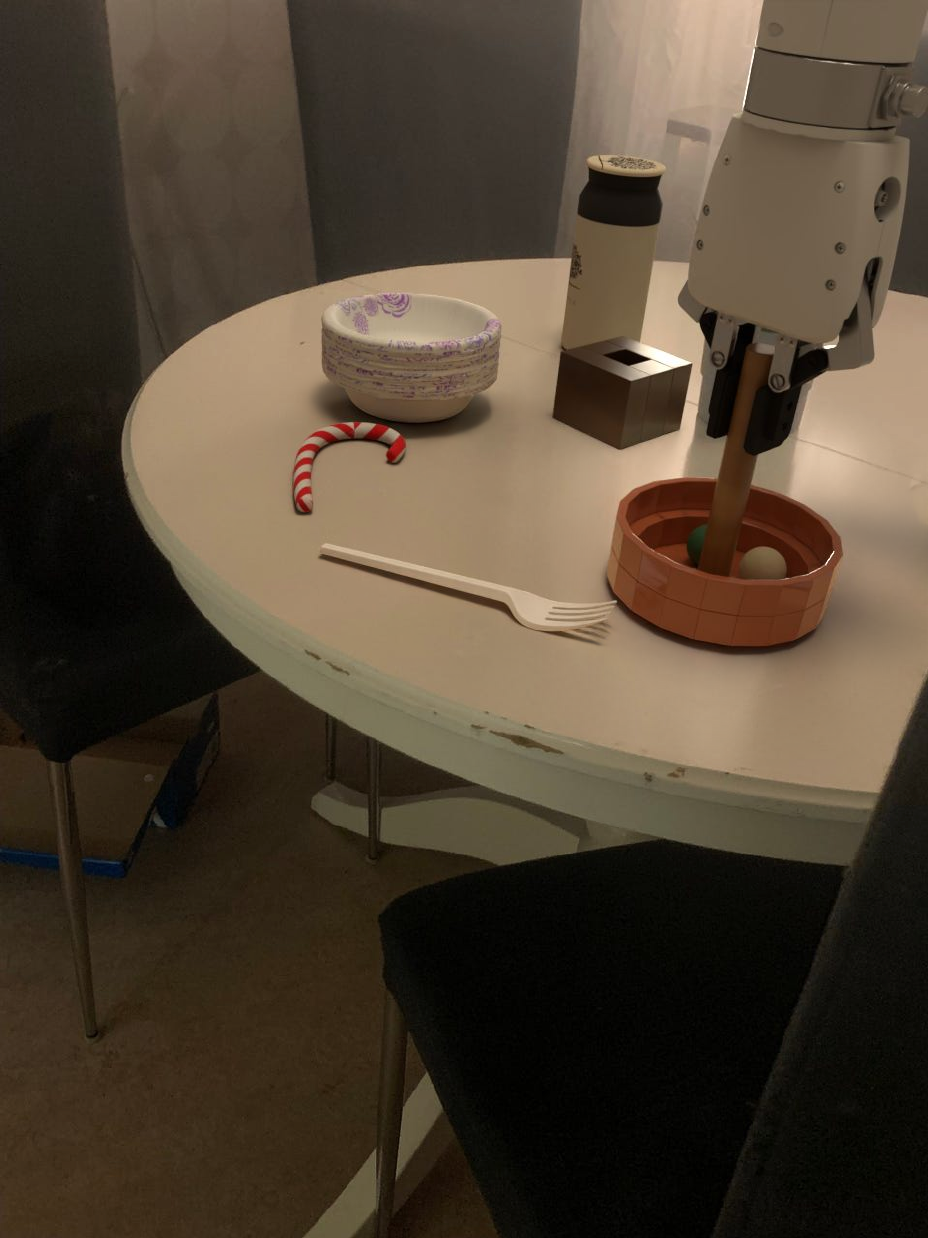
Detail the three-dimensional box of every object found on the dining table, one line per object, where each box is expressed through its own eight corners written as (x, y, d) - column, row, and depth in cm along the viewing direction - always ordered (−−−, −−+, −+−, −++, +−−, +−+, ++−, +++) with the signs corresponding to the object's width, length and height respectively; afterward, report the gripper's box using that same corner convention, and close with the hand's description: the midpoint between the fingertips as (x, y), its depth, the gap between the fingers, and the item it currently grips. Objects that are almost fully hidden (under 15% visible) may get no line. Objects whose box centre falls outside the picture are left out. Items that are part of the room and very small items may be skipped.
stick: (706, 579, 70) (760, 340, 61) (731, 593, 69) (790, 350, 60) (686, 589, 69) (739, 346, 60) (711, 603, 68) (769, 357, 59)
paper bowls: (383, 360, 104) (386, 276, 99) (524, 399, 98) (533, 312, 93) (285, 408, 92) (283, 316, 88) (437, 455, 86) (443, 360, 82)
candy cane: (257, 491, 76) (323, 412, 89) (258, 507, 77) (323, 427, 89) (363, 508, 75) (415, 427, 88) (363, 525, 76) (414, 441, 88)
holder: (612, 398, 100) (622, 335, 96) (680, 428, 95) (693, 363, 91) (552, 417, 95) (560, 350, 92) (619, 449, 90) (631, 380, 87)
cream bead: (752, 572, 73) (762, 533, 71) (789, 592, 71) (800, 552, 70) (725, 586, 71) (735, 546, 70) (762, 606, 70) (773, 566, 68)
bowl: (695, 521, 80) (708, 460, 77) (864, 606, 72) (885, 541, 69) (562, 578, 72) (571, 511, 69) (735, 682, 63) (753, 610, 61)
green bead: (701, 550, 75) (709, 512, 74) (736, 568, 73) (745, 529, 72) (673, 562, 73) (681, 523, 72) (708, 581, 72) (717, 542, 70)
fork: (332, 544, 73) (332, 520, 72) (615, 622, 68) (619, 596, 67) (308, 566, 71) (308, 541, 70) (600, 648, 65) (605, 622, 64)
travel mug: (639, 341, 114) (669, 159, 104) (636, 367, 107) (668, 175, 97) (564, 332, 114) (587, 150, 105) (556, 356, 108) (580, 165, 98)
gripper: (1013, 120, 51) (898, 475, 61) (738, 70, 60) (679, 385, 70) (933, 128, 46) (824, 510, 56) (651, 74, 56) (601, 408, 66)
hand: (744, 438), depth 63 cm, fingers closed on stick, 2 cm apart
